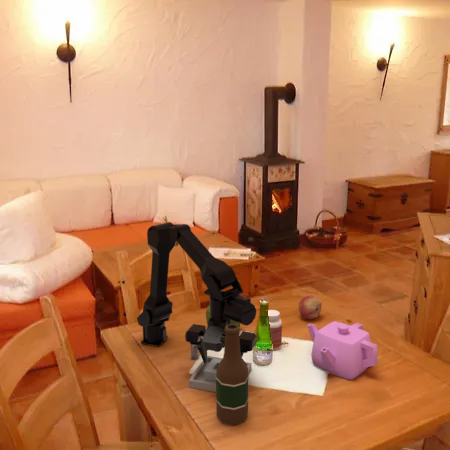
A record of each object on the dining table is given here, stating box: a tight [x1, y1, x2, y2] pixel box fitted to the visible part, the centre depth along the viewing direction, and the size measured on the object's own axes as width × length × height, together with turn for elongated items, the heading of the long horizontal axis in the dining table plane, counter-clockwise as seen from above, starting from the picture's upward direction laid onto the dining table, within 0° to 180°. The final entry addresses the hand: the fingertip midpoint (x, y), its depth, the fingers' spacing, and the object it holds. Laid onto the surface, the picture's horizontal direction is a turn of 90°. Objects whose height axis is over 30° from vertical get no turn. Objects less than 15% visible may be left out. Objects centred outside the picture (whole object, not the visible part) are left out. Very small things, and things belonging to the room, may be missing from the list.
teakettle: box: [306, 320, 379, 381], centre depth 146 cm, size 17×17×12 cm
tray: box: [188, 355, 253, 393], centre depth 141 cm, size 14×14×2 cm
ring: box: [204, 358, 221, 383], centre depth 142 cm, size 9×7×3 cm
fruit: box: [298, 294, 323, 320], centre depth 176 cm, size 8×8×8 cm
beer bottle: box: [215, 324, 250, 426], centre depth 122 cm, size 8×8×24 cm
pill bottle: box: [267, 309, 283, 351], centre depth 157 cm, size 6×6×11 cm
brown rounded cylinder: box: [190, 344, 199, 361], centre depth 152 cm, size 2×2×4 cm
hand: (221, 365), depth 140 cm, fingers open, 9 cm apart
